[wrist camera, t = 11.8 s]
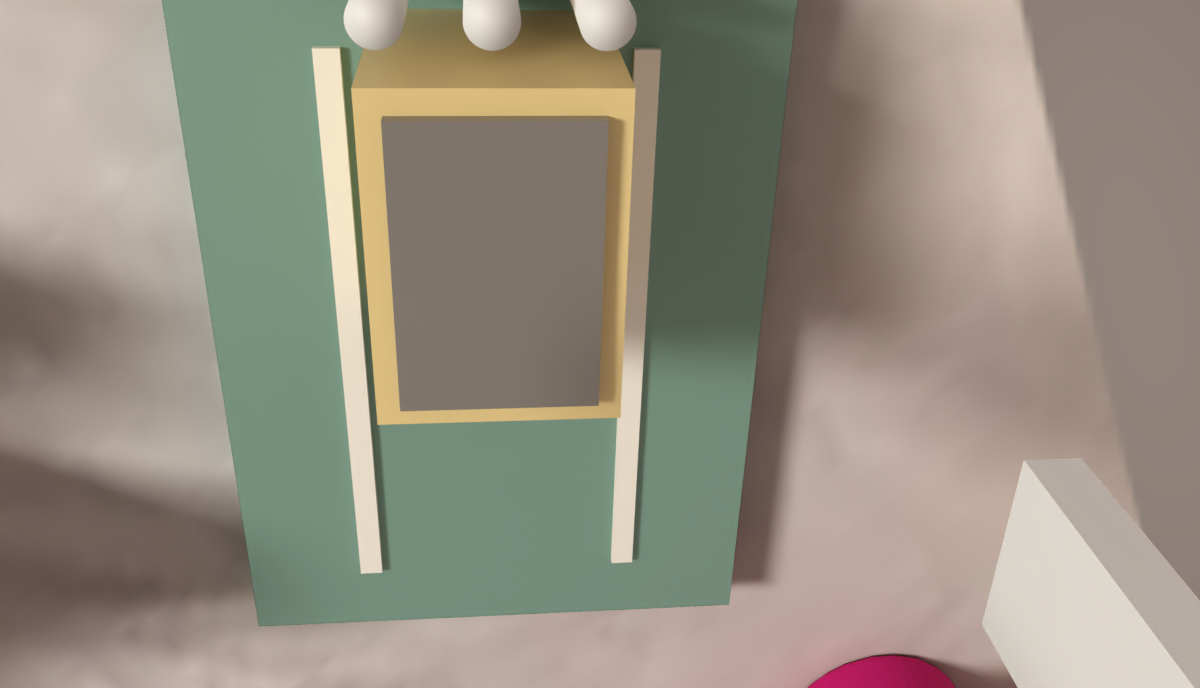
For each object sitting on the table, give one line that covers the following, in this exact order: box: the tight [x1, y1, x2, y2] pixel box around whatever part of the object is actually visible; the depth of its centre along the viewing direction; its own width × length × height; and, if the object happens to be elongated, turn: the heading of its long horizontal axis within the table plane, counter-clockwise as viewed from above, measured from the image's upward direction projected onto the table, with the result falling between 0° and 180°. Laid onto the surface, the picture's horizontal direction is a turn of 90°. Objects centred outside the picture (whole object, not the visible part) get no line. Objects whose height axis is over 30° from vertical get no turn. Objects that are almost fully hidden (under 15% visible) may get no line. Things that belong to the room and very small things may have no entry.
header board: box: [162, 0, 797, 626], centre depth 27 cm, size 22×14×8 cm, turn 178°
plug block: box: [351, 9, 636, 425], centre depth 24 cm, size 7×5×6 cm
